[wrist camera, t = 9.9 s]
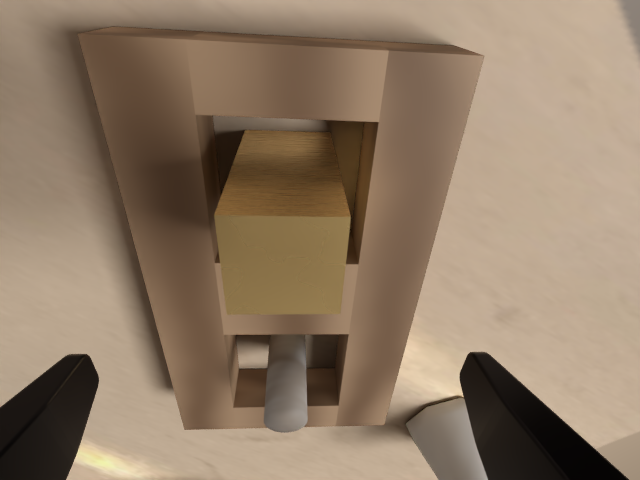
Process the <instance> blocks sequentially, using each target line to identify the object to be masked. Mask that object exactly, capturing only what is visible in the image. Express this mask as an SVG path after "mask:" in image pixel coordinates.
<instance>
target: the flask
mask: <svg viewBox="0 0 640 480" xmlns="http://www.w3.org/2000/svg"><path fill="white" fill-rule="evenodd" d="M406 426H407V429H408V431H409V433H410V435H411V437H412V439H413V440H414V442H415V444H416V445H417V447H418V449H419V450H420V452H421V453H422V455H423V456H424V458H425V459H426V461H427V462H428V464H429V465H430V467H431V468H432V470H433V472H434V473H435V475H436V476H437V478H438V480H488V478H487V476H486V473H485V470H484V467H483V464H482V461H481V459H480V456H479V453H478V450H477V447H476V444H475V440H474V436H473V432H472V428H471V424H470V420H469V416H468V412H467V408H466V404H465V400H464V398H458V399H454V400H451V401H447V402H443V403H439V404H436V405H432V406H428V407H426V408H425V409H424V410H422V411H421V412H420V413H418V414H417V415H416V416H415V417H413V418H412V419H411V420H410V421H408V422H407V423H406Z"/></svg>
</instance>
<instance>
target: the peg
mask: <svg viewBox="0 0 640 480" xmlns="http://www.w3.org/2000/svg"><path fill="white" fill-rule="evenodd" d="M214 218H215V226H216V234H217V242H218V250H219V258H220V266H221V274H222V281H223V289H224V297H225V305H226V313H227V315H253V314H340V313H341V304H342V295H343V286H344V277H345V267H346V258H347V249H348V240H349V231H350V222H351V215H350V211H349V207H348V203H347V199H346V195H345V191H344V187H343V183H342V179H341V174H340V170H339V166H338V162H337V158H336V154H335V150H334V146H333V142H332V138H331V134H330V132H297V131H265V130H245V132H244V135H243V138H242V140H241V143H240V146H239V148H238V151H237V154H236V157H235V159H234V162H233V165H232V168H231V170H230V173H229V176H228V179H227V181H226V184H225V187H224V189H223V192H222V195H221V198H220V200H219V203H218V206H217V209H216V211H215V214H214Z"/></svg>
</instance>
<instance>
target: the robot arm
mask: <svg viewBox="0 0 640 480" xmlns="http://www.w3.org/2000/svg"><path fill="white" fill-rule="evenodd" d="M98 383H99V377H98V374H97V371H96V369H95V367H94V365H93V362H92V360H91V358H90V356H88V355H87V354H70V355H67V356H65V357H64V358H62V359H61V360H60V361H58V362H57V363H56V364H55V365H53V366H52V367H51V368H50V369H48V370H47V371H46V372H45V373H43V374H42V375H41V376H39V377H38V378H37V379H36V380H34V381H33V382H32V383H31V384H29V385H28V386H27V387H25V388H24V389H23V390H22V391H20V392H19V393H18V394H17V395H15V396H14V397H13V398H12V399H10V400H9V401H8V402H6V403H5V404H4V405H3V406H1V407H0V480H66V478H67V476H68V474H69V471H70V469H71V467H72V464H73V462H74V459H75V457H76V454H77V452H78V449H79V446H80V443H81V440H82V436H83V433H84V430H85V427H86V423H87V420H88V417H89V414H90V410H91V407H92V404H93V401H94V398H95V394H96V391H97V388H98ZM460 383H461V387H462V391H463V396H464V400H465V404H466V408H467V412H468V416H469V420H470V424H471V428H472V432H473V436H474V440H475V444H476V447H477V450H478V453H479V456H480V459H481V461H482V464H483V467H484V470H485V473H486V476H487V478H488V480H629V479H628V478H627V477H626V476H624V475H623V474H622V473H621V472H620V471H619V470H618V469H617V468H615V467H614V466H613V465H612V464H611V463H610V462H609V461H608V460H607V459H606V458H604V457H603V456H602V455H601V454H600V453H599V452H598V451H597V450H595V449H594V448H593V447H592V446H591V445H590V444H589V443H588V442H587V441H585V440H584V439H583V438H582V437H581V436H580V435H579V434H578V433H576V432H575V431H574V430H573V429H572V428H571V427H570V426H569V425H568V424H566V423H565V422H564V421H563V420H562V419H561V418H560V417H559V416H558V415H556V414H555V413H554V412H553V411H552V410H551V409H550V408H549V407H547V406H546V405H545V404H544V403H543V402H542V401H541V400H540V399H539V398H537V397H536V396H535V395H534V394H533V393H532V392H531V391H530V390H528V389H527V388H526V387H525V386H524V385H523V384H522V383H521V382H520V381H518V380H517V379H516V378H515V377H514V376H513V375H512V374H511V373H510V372H508V371H507V370H506V369H505V368H504V367H503V366H502V365H501V364H499V363H498V362H497V361H496V360H495V359H494V358H493V357H492V356H491V355H489V354H488V353H486V352H470V353H469V354H468V355H467V357H466V360H465V362H464V365H463V367H462V369H461V372H460Z"/></svg>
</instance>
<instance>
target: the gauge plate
mask: <svg viewBox="0 0 640 480" xmlns="http://www.w3.org/2000/svg"><path fill="white" fill-rule="evenodd" d="M77 35H78V38H79V42H80V46H81V49H82V53H83V57H84V60H85V64H86V68H87V71H88V75H89V79H90V83H91V86H92V90H93V94H94V97H95V101H96V105H97V108H98V112H99V116H100V119H101V123H102V127H103V130H104V134H105V138H106V142H107V145H108V149H109V153H110V156H111V160H112V164H113V167H114V171H115V175H116V178H117V182H118V186H119V190H120V193H121V197H122V201H123V204H124V208H125V212H126V215H127V219H128V223H129V226H130V230H131V234H132V238H133V241H134V245H135V249H136V252H137V256H138V260H139V263H140V267H141V271H142V274H143V278H144V282H145V286H146V289H147V293H148V297H149V300H150V304H151V308H152V311H153V315H154V319H155V322H156V326H157V330H158V333H159V337H160V341H161V345H162V348H163V352H164V356H165V359H166V363H167V367H168V370H169V374H170V378H171V381H172V385H173V389H174V393H175V396H176V400H177V404H178V407H179V411H180V415H181V418H182V422H183V426H184V429H185V430H194V429H236V428H269V429H271V430H273V431H276V432H293V431H297V430H299V429H301V428H303V427H322V426H365V425H384V424H385V420H386V416H387V413H388V409H389V405H390V402H391V398H392V394H393V390H394V387H395V383H396V379H397V376H398V372H399V368H400V365H401V361H402V357H403V354H404V350H405V346H406V343H407V339H408V335H409V332H410V328H411V324H412V321H413V317H414V313H415V310H416V306H417V302H418V299H419V295H420V291H421V288H422V284H423V280H424V277H425V273H426V269H427V265H428V262H429V258H430V254H431V251H432V247H433V243H434V240H435V236H436V232H437V229H438V225H439V221H440V218H441V214H442V210H443V207H444V203H445V199H446V196H447V192H448V188H449V185H450V181H451V177H452V174H453V170H454V166H455V163H456V159H457V155H458V151H459V148H460V144H461V140H462V137H463V133H464V129H465V126H466V122H467V118H468V115H469V111H470V107H471V104H472V100H473V96H474V93H475V89H476V85H477V82H478V78H479V74H480V71H481V67H482V63H483V60H484V56H483V55H480V54H478V53H475V52H472V51H469V50H466V49H463V48H460V47H457V46H451V45H434V44H416V43H398V42H380V41H363V40H345V39H327V38H310V37H292V36H274V35H256V34H239V33H221V32H203V31H185V30H168V29H150V28H132V27H109V28H104V29H99V30H93V31H88V32H83V33H78V34H77ZM213 115H214V116H239V117H264V118H289V119H314V120H340V121H364V128H363V137H362V145H361V153H360V162H359V170H358V178H357V187H356V195H355V203H354V212H353V220H352V228H351V232H349V240H348V249H347V258H346V267H345V277H344V286H343V295H342V304H341V313H340V314H253V315H227V313H226V305H225V297H224V289H223V281H222V274H221V266H220V258H219V250H218V242H217V234H216V226H215V218H214V214H215V211H216V209H217V206H218V203H219V200H220V198H221V192H220V182H219V173H218V163H217V154H216V144H215V134H214V125H213ZM305 334H339V337H338V345H337V353H336V362H335V368H308V369H306V345H305ZM236 335H270V342H269V355H268V369H239V364H238V355H237V345H236Z"/></svg>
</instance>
